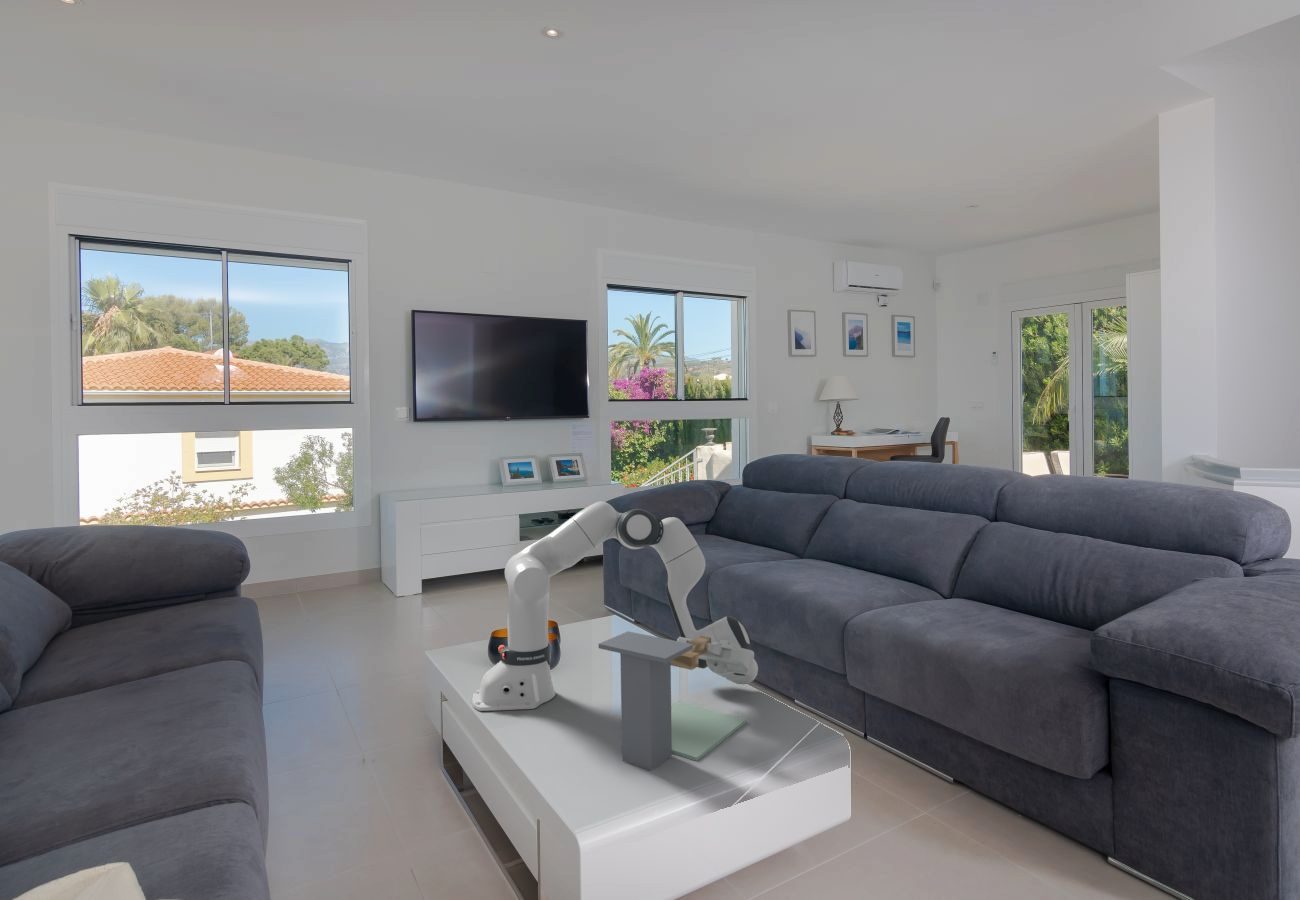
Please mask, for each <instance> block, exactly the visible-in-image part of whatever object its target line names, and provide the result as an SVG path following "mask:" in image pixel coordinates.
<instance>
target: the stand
mask: <svg viewBox="0 0 1300 900" xmlns="http://www.w3.org/2000/svg"><path fill="white" fill-rule="evenodd" d="M598 649H601V650H605V651H608V652H613V653H617V654H620V696H621V697H620V703H621V704H620V706H621V707H620V709H621V711H620V712H621V757H622V758H621V761H622V762H625V763H627V764H628V763H629V764H631V765H634V766H637V767H640V768H642V769H646V770H648V771H653V770H654V769H656V768H657V767H658V766H660V765H662V764H663V763H664V762H665V761H667V760H668V759H669V758H671V757H672V756H673V753H672V730H671V706H672V677H671V675H672V672H671V671H672V668H671V667H672V665H671V660H673V659H675V658H676V657H678V656H680V655H682V654H684V653H686V652H688V651H690V650H692V649H693V644H688V643H683V642H678V641H677V640H673V639H668V638H664V637H663V638H662V637H658V636H654V635H653V636H652V635H649V634H643V633H638V632H634V631H626V632H623V633H621V634H619V635H616V636H613V637H612V638H609V639H606V640H604V641H602V642H600V643H598Z"/></svg>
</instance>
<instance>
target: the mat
mask: <svg viewBox="0 0 1300 900" xmlns="http://www.w3.org/2000/svg"><path fill="white" fill-rule="evenodd" d="M747 721H748V719H747V718H745V717H741V716H738V715H737V716H736V715H733V714H730V713H729V714H728V713H726V712H721V711H717V710H714V709H710V708H707V707H702V706H698V705H694V704H691V703H687V702H683V701H678V702H676V703H675V704H673V705H671V730H672V755H676V756H680V757H683V758H686V759H689V760H692V761H695V762H698V761H699V760H700V759H702V758H703V757H704V756H705V755H707V754H708V753H710V751H712V750H713V749H714V748H716V747H717V746H718V745H719V744H721V743H722V742H723V741H725V740H726V739H727V738H728V737H730V736H731V735H732V734H733V733H735V732H736V731H737V730H738V729H740V728H741V727H742V726H744V725H745V724H747V723H748V722H747Z"/></svg>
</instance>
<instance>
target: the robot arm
mask: <svg viewBox="0 0 1300 900" xmlns="http://www.w3.org/2000/svg"><path fill="white" fill-rule="evenodd" d="M610 539H613V541H615V542H617V543H618V544H619V545H620V546H622V547H623V548H626V549H628V550H639V549H640V550H641V549H643V548H645V547H648V546H649V547H652V548H653V549H654V550H655V551H656V552H657V553H658V554H659V556H660V558H661V560H662V561H663V564H664V566H665V569H666V571H667V572H666V573H667V582H666V583H665V594H666V599H667V601H668V604H669V607H670V610H671V614H672V616H673V619H674V622H675V625H676V628H677V630H678V634H679V637H678V638H677V640H676V641H678V642H683V643H688V642H690V641H692V640H694V639H696V638H698V637H700V636H704V637H709V638H711V643H705V646H704V649H705V650H706V651H708V652H706V653H704V654H702V655H701V656H699V657H698V662H699V666H698V667H697V668H699V669H703V670H704V669H707V668H708V669H709V670H710V671H711V672H712V673H713V674H716V675H718V676H720V677H722V678H724V679H726V680H728V681H730V683H731V682H732V683H734V684H737V685H747V684H750V683H752V682H754V680H756V678H757V676H758V672H759V666H758V662H757V661H756V660H755V659H756V658H755V652H754V651H753V650H751V646H752V643H751V641H752V640H751V638H750V634H749V632H748V630H747V628H746V627H745V625H744V624H743V623H742V621H741V620H739V619H738V618H736V617H734V616H732V615H727V616H724V617H722V618H720V619H719V620H718V619H717V620H716V621H714V622H713V623H710V624H709V625H707V626H705V627H703V628H700V629H698V630H697V629H696V627H695V625H694V623H693V619H692V618H691V614H690V611H689V608H688V604H687V598H688V595H689V593H690V592H691V590H692V589H693V588H694V587H695V585H696V584H697V583H698V582H699V581H700V579H701V578H702V577H703V575H704V573H705V571H706V558H705V556H704V554H703V552H702V549H701V547H700V546H699V544H698V543H697V541H696V539H695V538H694V536H693V534H692V533H691V532H690V530H689V529H688V527H687V526H686V524H684V522H683V521H682V520H681V519H680V518H678V517H674V516H672V517H670V516H669V517H665V518H663V519H660V518H658V517H657V516H655V515H654V514H652V513H650V511H647V510H645V509H641V508H633V509H630V510H628V511H626V512H619V511H617V510H616V509H615V508H614V507H613V506H612V505H611V504H610V503H608V502H606V501H604V500H603V501H596V502H594V503H592V504H590V505H588V506H585V508H583V509H581V510H580V511H578V512H577V513H575V514H574V515H573V516H571V517H570V518H569V519H567V520H566V521H565V522H563V523H562V524H561V525H560V526H558V527H557V528H556V529H554V530H552V531H551V532H550V533H549V534H547V535H545V536H544V537H542V538H540V539H539V540H536V541H535V542H534V543H532V544H529V545H528V546H527V547H525V548H524V549H522V550H520V551H519V552H517V553H515V554H514V555H512V556H511V557H510V558H509V559H508V561H507V562H506V564H505V568H504V578H505V581H506V584H507V587H508V598H507V599H508V601H507V602H508V604H507V605H508V606H507V620H506V621H507V646H505V644H501V645H499V646H498V653H499V654H500V660H499V662H497V663H496V664H494V666H493V667H491V668H490V669H488V670H487V671H486V672H485V673H484V674H483V677H482V679H481V682H480V686H479V687H480V688H478V689H477V690H475V691H474V692H473V695H472V699H471V700H472V701H471V704H472V706H473V708H474V709H475V710H477V711H480V712H485V711H486V712H488V711H489V712H490V711H492V712H493V711H511V710H512V711H513V710H516V711H517V710H533V709H534V710H535V709H537V708H538V707H540V705H542V704H544V703H547V702H548V701H551V700H552V699H553V698H554V697H556V690H555V688H554V685H553V680H552V675H551V667H550V665H551V658H552V657H551V656H552V655H551V646H550V642H549V607H550V591H551V577H554V576H555V575H557V574H559V573H560V572H562V571H564V570H565V569H569V568H572V567H574V565H576V564H577V563H578V562H579V561H581V560H582V559H584V558H585V557H587V555H588V554H590V553H591V552H592V551H594V550H595V549H596V548H598V547H599V546H600V545H601V544H603V543H605V541H607V540H610Z"/></svg>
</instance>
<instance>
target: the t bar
mask: <svg viewBox="0 0 1300 900" xmlns="http://www.w3.org/2000/svg"><path fill="white" fill-rule="evenodd" d="M705 643H711V638H709V637H704V636H700V637H698V638H696V639H694V640H692V641H690V642H688V644H693V649H692V650H690V651H688V652H686V653H684V654H682V655H680V656H678V657H676V658H675V659H673V660H671V667H677V668H682V669H684V670H685V669H686V670H691V671H693V670H694V669H697V668H699V667H698V666H699V662H698V657H699V656H701V655H702V654H704V653H706V652H708V651H706V650H705V649H704V646H705Z"/></svg>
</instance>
